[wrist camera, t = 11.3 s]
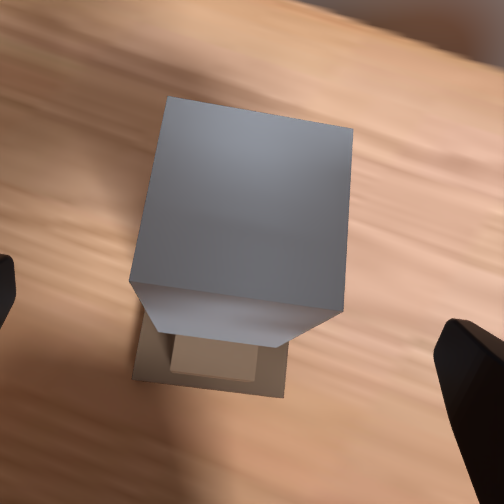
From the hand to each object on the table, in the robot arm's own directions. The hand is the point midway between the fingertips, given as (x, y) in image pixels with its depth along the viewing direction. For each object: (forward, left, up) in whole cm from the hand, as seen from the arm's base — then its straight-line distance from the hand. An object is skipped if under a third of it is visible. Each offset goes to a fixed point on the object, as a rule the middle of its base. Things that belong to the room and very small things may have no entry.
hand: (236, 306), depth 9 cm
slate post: (+1, +2, -10) cm, 10 cm away
